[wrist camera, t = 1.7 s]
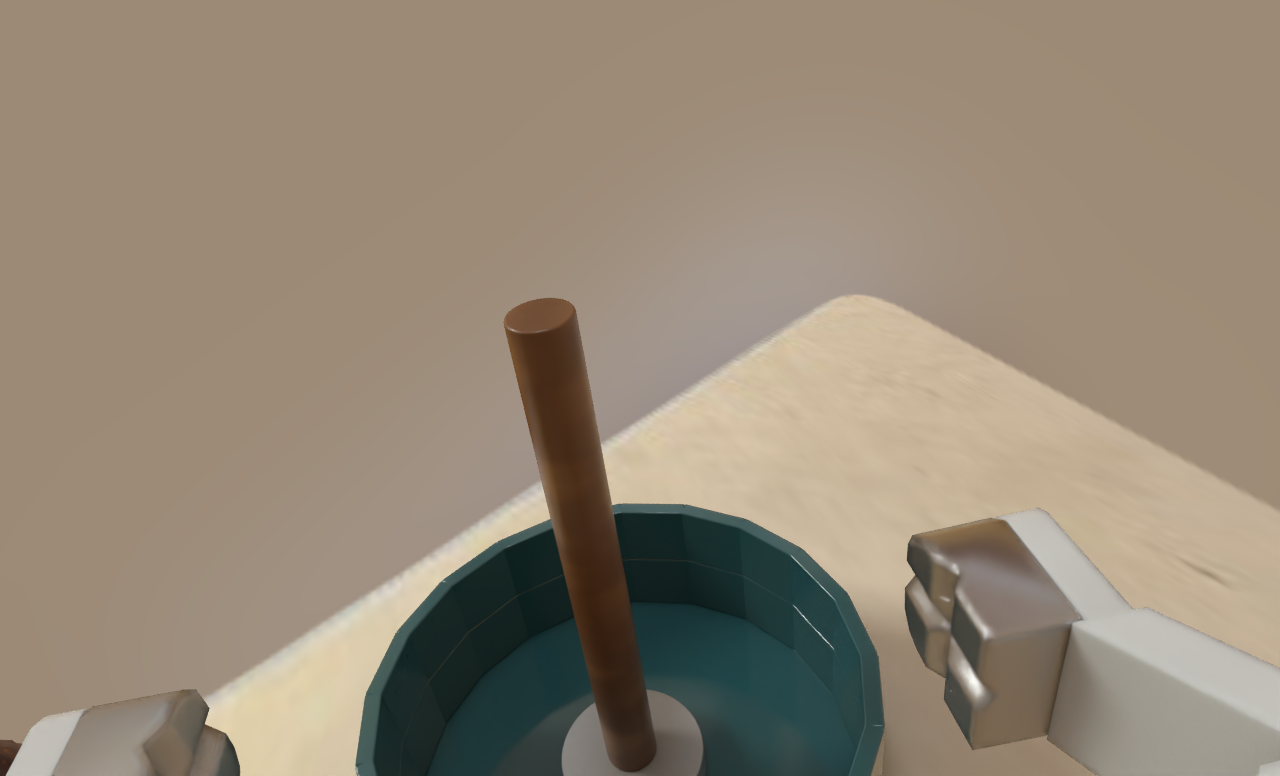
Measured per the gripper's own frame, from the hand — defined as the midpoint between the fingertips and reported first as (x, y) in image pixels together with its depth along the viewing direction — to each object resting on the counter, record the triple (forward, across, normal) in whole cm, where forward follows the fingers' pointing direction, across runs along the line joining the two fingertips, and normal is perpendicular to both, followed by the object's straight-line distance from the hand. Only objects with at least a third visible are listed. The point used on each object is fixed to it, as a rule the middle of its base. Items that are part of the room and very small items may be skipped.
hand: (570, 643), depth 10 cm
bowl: (+12, 0, +22) cm, 25 cm away
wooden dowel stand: (+12, 0, +21) cm, 24 cm away
